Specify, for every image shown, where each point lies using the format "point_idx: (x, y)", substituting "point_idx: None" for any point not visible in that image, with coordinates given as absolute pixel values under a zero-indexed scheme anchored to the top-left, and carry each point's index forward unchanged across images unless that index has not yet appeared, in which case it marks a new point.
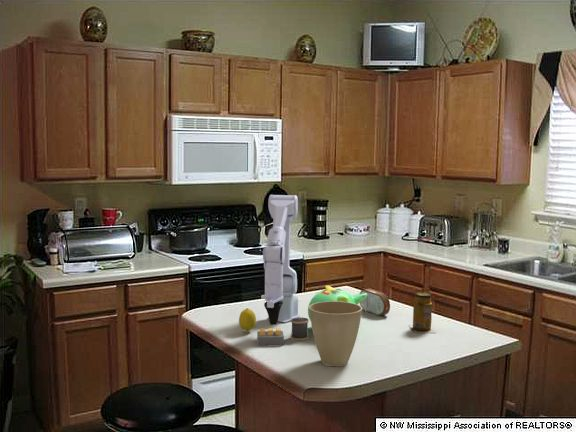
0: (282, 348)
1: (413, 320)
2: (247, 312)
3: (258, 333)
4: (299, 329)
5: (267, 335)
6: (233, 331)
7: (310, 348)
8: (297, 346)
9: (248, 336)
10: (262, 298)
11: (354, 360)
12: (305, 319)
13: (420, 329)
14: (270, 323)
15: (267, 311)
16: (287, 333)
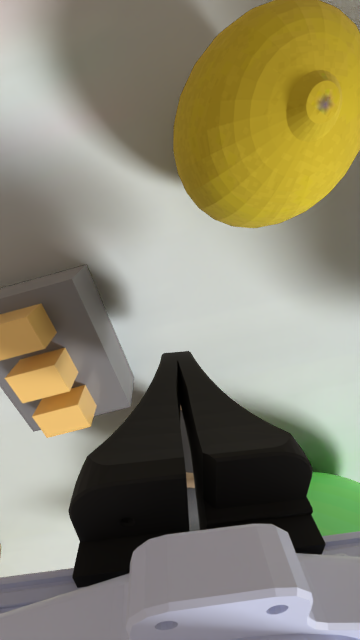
0: (6, 403)
1: None
2: (233, 134)
3: (30, 297)
4: None
5: (14, 358)
6: (230, 17)
7: (57, 478)
8: (60, 442)
9: (133, 190)
10: (135, 558)
11: (5, 568)
12: (189, 530)
13: None
14: (161, 359)
15: (128, 420)
16: (228, 376)
